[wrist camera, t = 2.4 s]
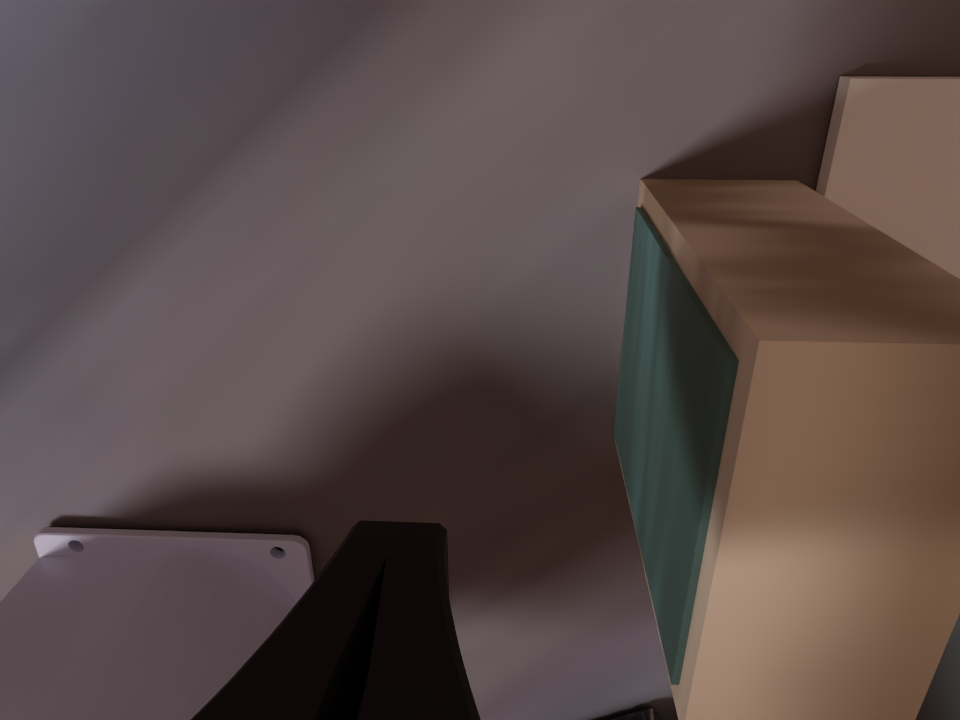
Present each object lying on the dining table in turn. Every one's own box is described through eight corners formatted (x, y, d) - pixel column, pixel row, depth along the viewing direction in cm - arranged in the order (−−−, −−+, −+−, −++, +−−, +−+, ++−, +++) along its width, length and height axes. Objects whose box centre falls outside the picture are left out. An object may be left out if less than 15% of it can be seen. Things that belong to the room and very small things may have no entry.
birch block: (609, 438, 22) (673, 735, 13) (634, 178, 18) (747, 340, 9) (744, 441, 22) (904, 744, 13) (797, 180, 18) (1071, 346, 9)
